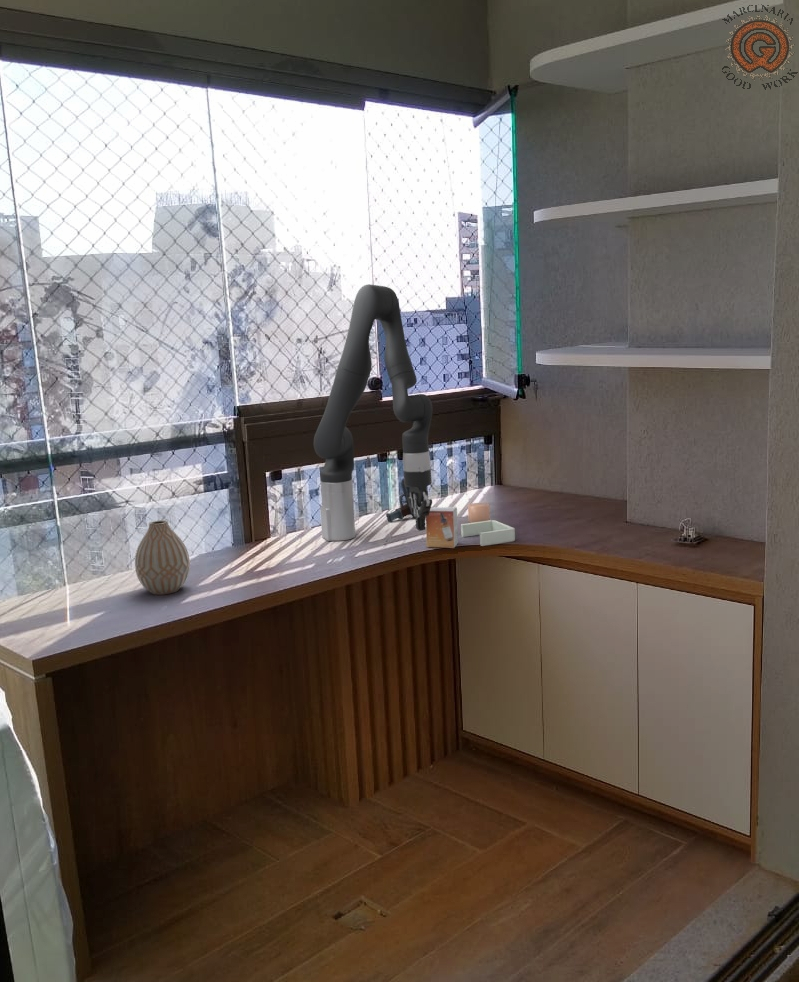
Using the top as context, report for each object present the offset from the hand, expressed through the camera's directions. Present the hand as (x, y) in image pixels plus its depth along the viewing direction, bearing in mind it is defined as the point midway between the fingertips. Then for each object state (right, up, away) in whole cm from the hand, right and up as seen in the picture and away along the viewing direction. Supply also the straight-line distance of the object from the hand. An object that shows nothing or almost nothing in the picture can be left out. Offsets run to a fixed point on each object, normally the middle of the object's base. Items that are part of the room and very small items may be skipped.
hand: (421, 529), depth 263 cm
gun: (-3, +2, +39) cm, 39 cm away
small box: (+6, -5, +3) cm, 8 cm away
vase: (-64, -14, -28) cm, 71 cm away
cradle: (+19, -3, +8) cm, 21 cm away
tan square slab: (+18, 0, +22) cm, 28 cm away
